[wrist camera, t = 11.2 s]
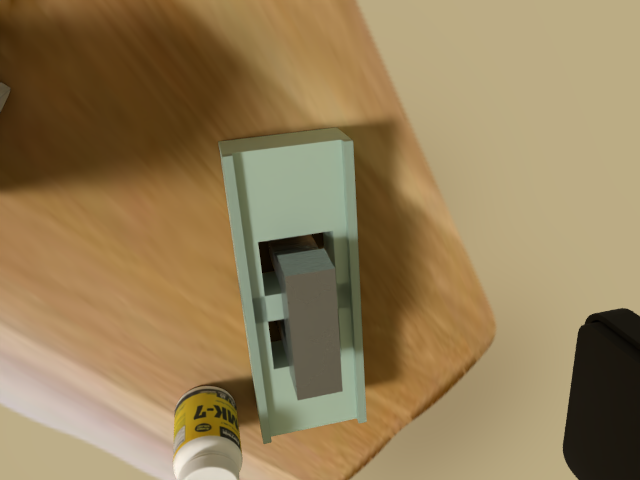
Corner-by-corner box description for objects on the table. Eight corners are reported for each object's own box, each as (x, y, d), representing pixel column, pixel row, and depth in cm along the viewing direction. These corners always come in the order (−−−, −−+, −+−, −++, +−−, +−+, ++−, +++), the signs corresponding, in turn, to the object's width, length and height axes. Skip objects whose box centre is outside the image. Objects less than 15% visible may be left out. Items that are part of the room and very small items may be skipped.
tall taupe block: (266, 227, 40) (285, 276, 33) (307, 221, 40) (335, 268, 33) (278, 334, 44) (297, 400, 36) (316, 327, 44) (342, 391, 37)
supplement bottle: (245, 392, 45) (258, 471, 37) (221, 438, 46) (229, 523, 39) (187, 376, 43) (189, 456, 36) (165, 424, 44) (161, 511, 37)
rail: (218, 141, 37) (222, 156, 33) (336, 127, 38) (353, 140, 35) (256, 408, 46) (263, 444, 42) (352, 388, 47) (366, 421, 43)
